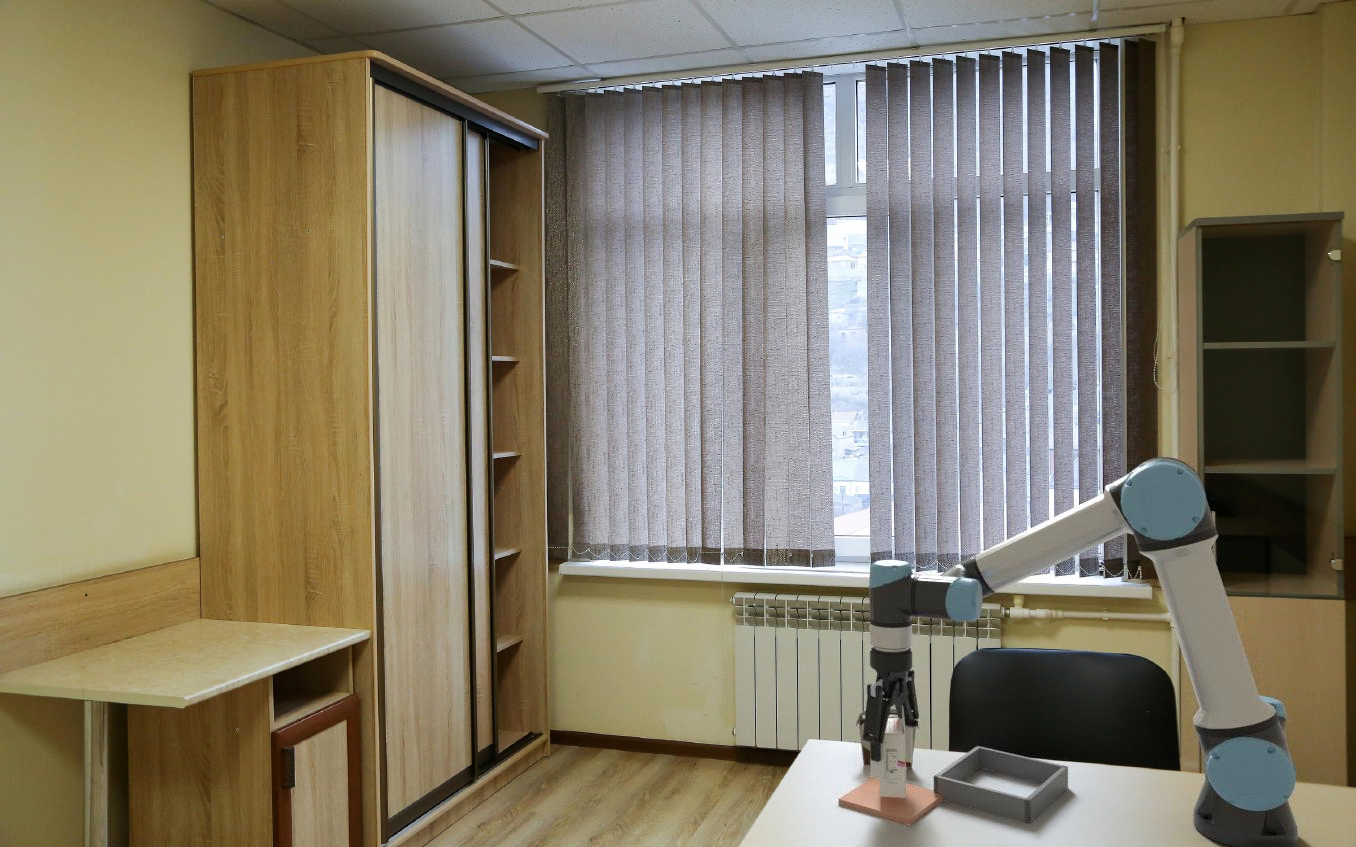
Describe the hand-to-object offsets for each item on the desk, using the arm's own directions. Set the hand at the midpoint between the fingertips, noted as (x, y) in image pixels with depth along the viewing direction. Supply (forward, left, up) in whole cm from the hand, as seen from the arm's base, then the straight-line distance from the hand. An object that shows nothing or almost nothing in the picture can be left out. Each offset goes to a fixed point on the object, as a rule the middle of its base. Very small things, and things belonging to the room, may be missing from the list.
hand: (892, 768), depth 179 cm
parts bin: (-14, -16, -6) cm, 22 cm away
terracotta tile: (0, 0, -6) cm, 6 cm away
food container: (+10, -17, -6) cm, 21 cm away
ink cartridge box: (0, 0, -4) cm, 4 cm away
